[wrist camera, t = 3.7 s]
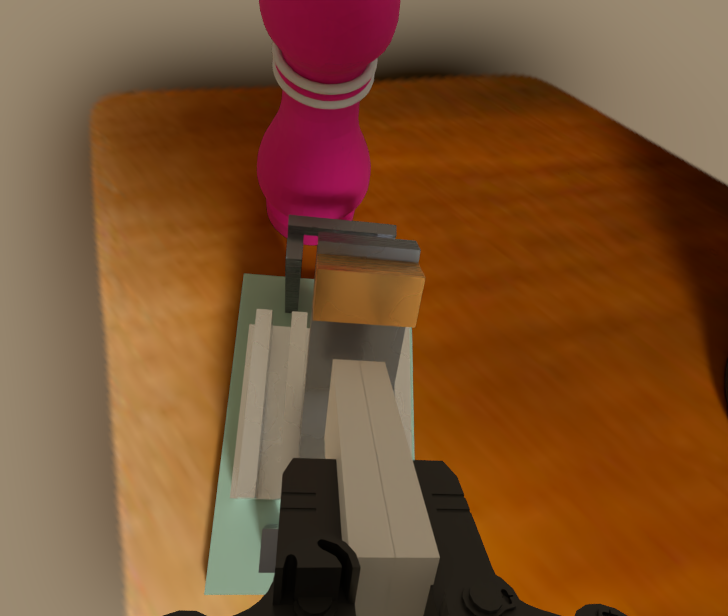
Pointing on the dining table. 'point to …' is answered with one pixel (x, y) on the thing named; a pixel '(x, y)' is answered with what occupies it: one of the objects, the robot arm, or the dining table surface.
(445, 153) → the dining table surface
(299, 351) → the grey blocky device
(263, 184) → the pepper mill
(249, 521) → the mainboard
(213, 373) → the dining table surface
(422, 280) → the grey bar
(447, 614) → the robot arm
